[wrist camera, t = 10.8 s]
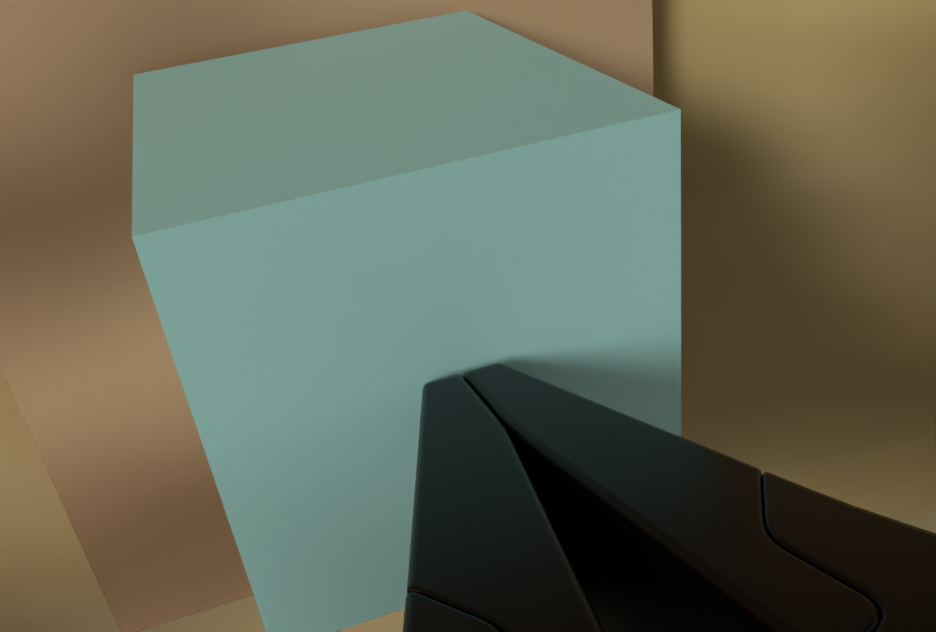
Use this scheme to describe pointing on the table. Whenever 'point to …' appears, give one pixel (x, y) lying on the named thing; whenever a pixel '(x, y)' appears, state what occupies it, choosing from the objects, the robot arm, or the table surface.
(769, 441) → the table surface
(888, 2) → the table surface
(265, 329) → the pale teal block
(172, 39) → the wooden base plate
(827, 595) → the robot arm
